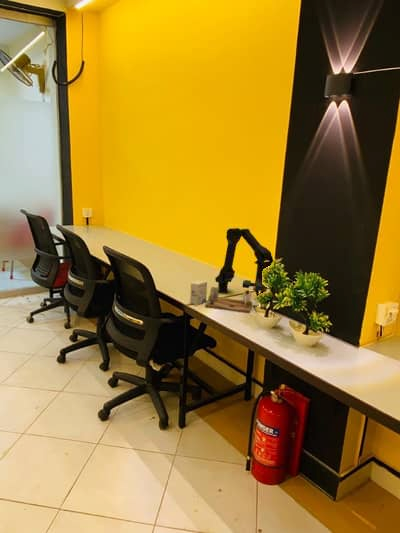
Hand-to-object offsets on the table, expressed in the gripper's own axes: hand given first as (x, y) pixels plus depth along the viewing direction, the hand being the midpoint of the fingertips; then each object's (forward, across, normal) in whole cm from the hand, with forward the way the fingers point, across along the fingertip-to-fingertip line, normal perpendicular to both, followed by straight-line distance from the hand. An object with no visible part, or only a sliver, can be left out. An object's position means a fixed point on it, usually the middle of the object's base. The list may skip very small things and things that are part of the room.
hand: (258, 300), depth 214 cm
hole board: (+4, -15, -4) cm, 16 cm away
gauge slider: (+2, -6, -3) cm, 7 cm away
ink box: (+4, -32, -5) cm, 33 cm away
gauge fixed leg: (+2, -24, -3) cm, 25 cm away
